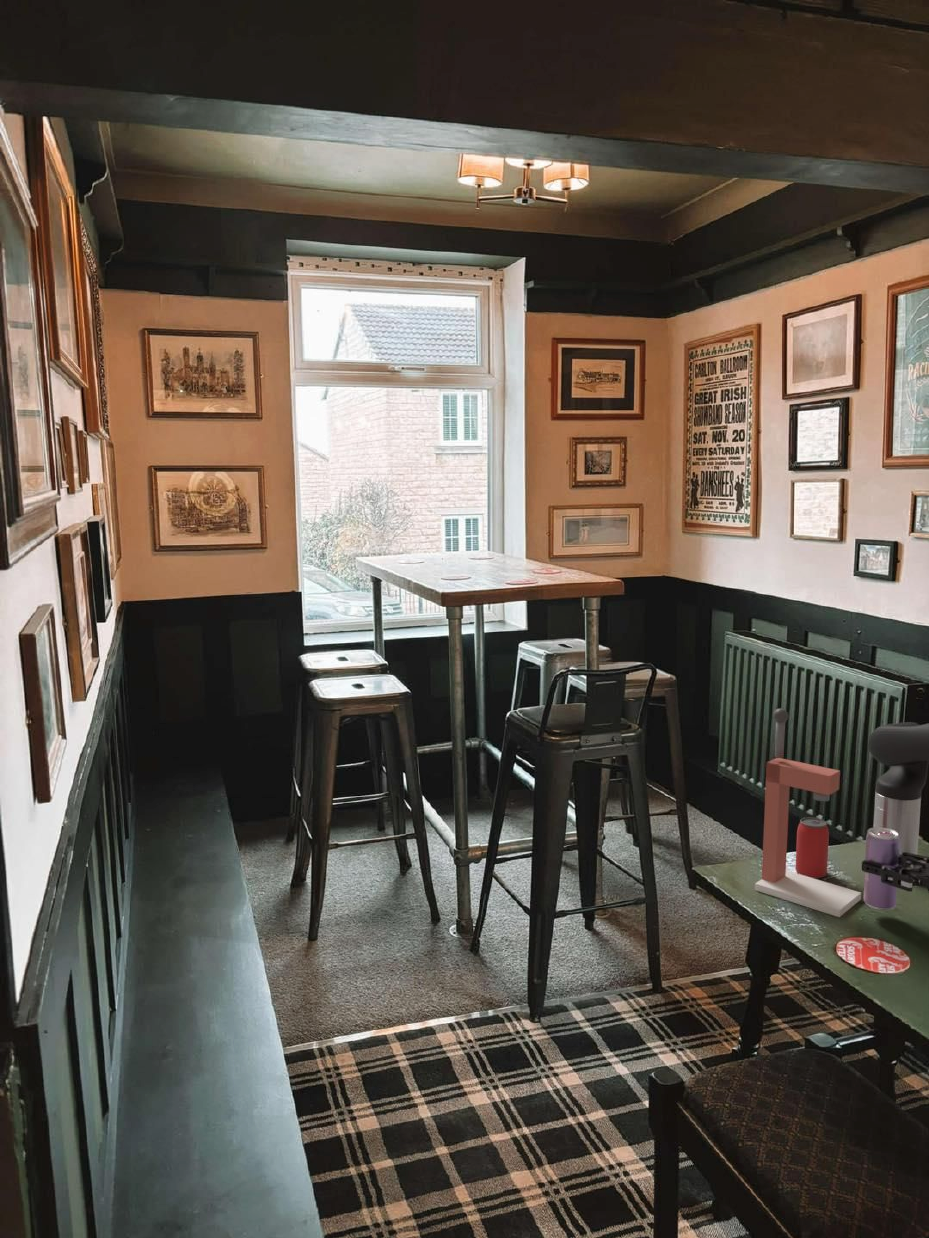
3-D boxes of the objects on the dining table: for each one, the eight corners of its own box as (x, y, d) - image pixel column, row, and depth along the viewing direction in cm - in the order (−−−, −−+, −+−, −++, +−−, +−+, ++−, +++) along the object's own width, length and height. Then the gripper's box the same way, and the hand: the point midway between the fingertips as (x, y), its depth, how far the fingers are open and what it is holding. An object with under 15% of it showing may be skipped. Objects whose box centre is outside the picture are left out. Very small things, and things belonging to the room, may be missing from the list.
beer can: (832, 874, 201) (835, 822, 199) (816, 882, 197) (818, 829, 195) (806, 864, 206) (808, 814, 204) (789, 872, 202) (791, 820, 200)
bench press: (778, 874, 201) (785, 702, 195) (860, 899, 188) (871, 717, 183) (754, 889, 193) (762, 712, 188) (839, 917, 181) (849, 727, 175)
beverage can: (899, 912, 177) (903, 838, 175) (867, 909, 178) (870, 837, 176) (891, 898, 182) (895, 827, 180) (860, 896, 184) (863, 826, 182)
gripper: (973, 854, 174) (882, 832, 185) (949, 877, 163) (855, 852, 175) (971, 891, 175) (881, 867, 186) (947, 916, 165) (853, 889, 176)
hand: (869, 860), depth 181 cm, fingers closed on beverage can, 6 cm apart
